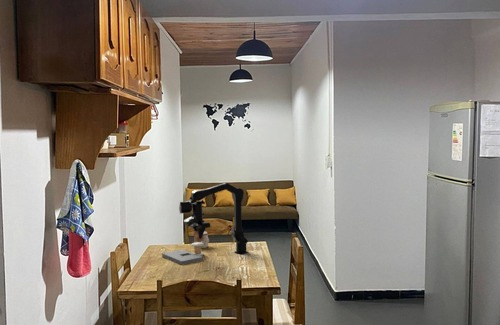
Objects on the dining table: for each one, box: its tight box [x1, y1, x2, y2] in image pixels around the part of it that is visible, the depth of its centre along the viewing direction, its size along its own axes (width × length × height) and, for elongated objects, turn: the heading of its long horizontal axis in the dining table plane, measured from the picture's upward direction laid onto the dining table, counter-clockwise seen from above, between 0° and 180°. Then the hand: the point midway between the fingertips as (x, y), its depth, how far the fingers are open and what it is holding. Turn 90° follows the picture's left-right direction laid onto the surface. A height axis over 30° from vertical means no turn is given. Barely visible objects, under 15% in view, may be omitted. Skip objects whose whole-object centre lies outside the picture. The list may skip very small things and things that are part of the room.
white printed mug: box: [193, 230, 210, 249], centre depth 302 cm, size 12×9×12 cm
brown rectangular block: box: [193, 230, 204, 242], centre depth 276 cm, size 3×4×6 cm, turn 126°
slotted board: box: [161, 249, 204, 266], centre depth 275 cm, size 24×14×2 cm, turn 37°
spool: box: [191, 242, 205, 257], centre depth 282 cm, size 7×7×7 cm
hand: (198, 238), depth 276 cm, fingers closed on brown rectangular block, 3 cm apart
